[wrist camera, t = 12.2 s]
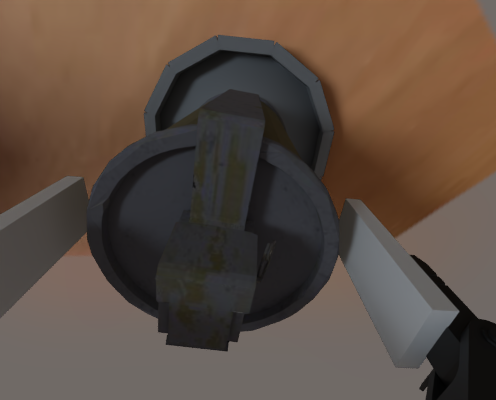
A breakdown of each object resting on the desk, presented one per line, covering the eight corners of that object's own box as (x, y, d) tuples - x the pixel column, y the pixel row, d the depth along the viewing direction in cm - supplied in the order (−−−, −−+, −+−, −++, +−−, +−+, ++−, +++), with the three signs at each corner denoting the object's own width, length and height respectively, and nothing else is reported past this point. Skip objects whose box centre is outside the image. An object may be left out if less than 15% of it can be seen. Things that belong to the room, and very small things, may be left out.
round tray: (160, 207, 30) (154, 216, 28) (145, 30, 22) (135, 26, 20) (306, 220, 30) (309, 230, 29) (346, 51, 22) (354, 49, 20)
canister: (274, 197, 28) (311, 406, 11) (184, 182, 28) (61, 378, 10) (300, 97, 23) (450, 173, 6) (191, 76, 23) (-32, 86, 5)
